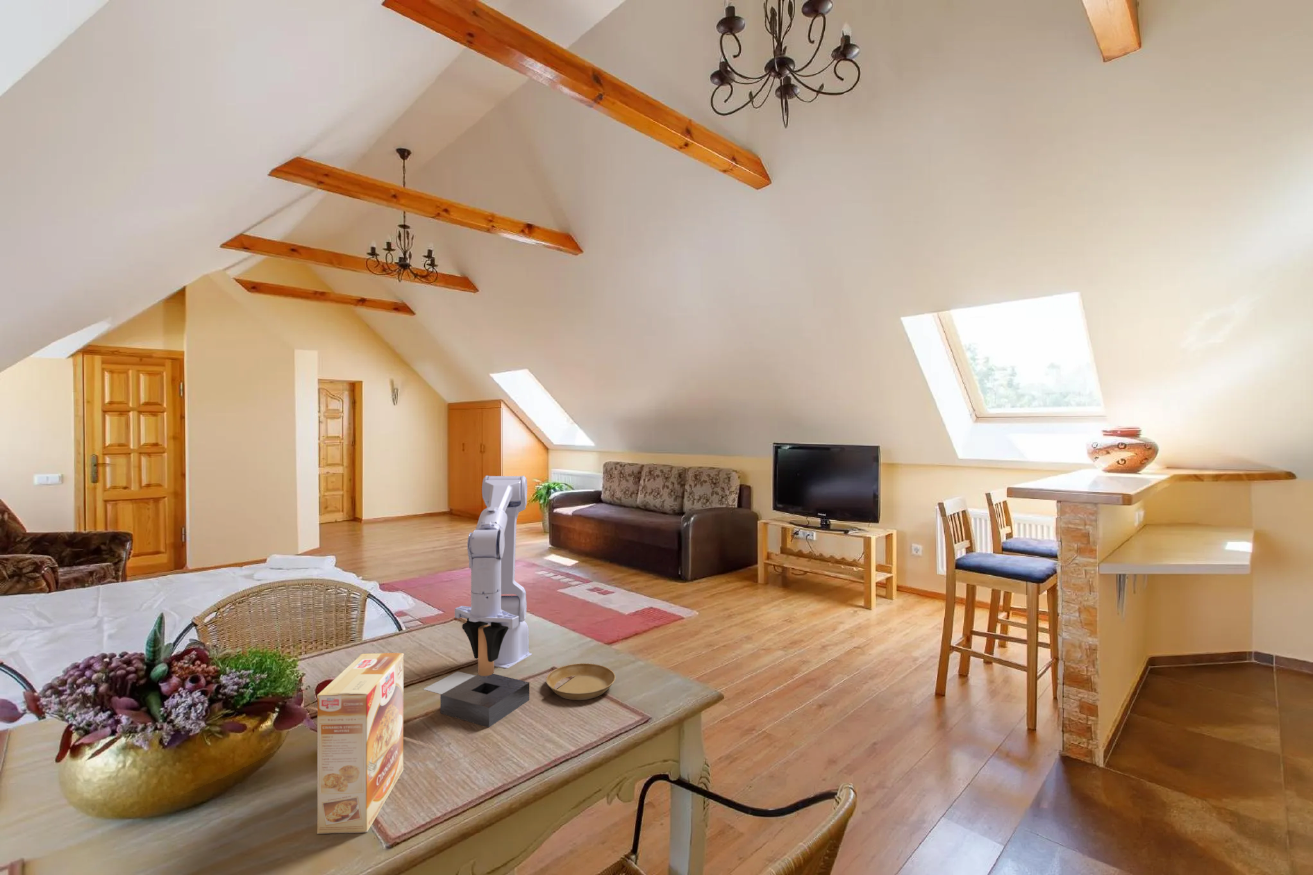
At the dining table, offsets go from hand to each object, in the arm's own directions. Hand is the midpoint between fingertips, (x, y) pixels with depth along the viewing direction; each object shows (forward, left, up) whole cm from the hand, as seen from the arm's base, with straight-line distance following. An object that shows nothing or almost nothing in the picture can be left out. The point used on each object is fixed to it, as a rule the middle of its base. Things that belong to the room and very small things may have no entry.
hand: (486, 658), depth 117 cm
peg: (0, 0, -3) cm, 3 cm away
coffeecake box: (+30, +3, -10) cm, 32 cm away
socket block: (0, 0, -10) cm, 10 cm away
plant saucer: (-16, +12, -10) cm, 23 cm away
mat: (-5, -12, -10) cm, 16 cm away
